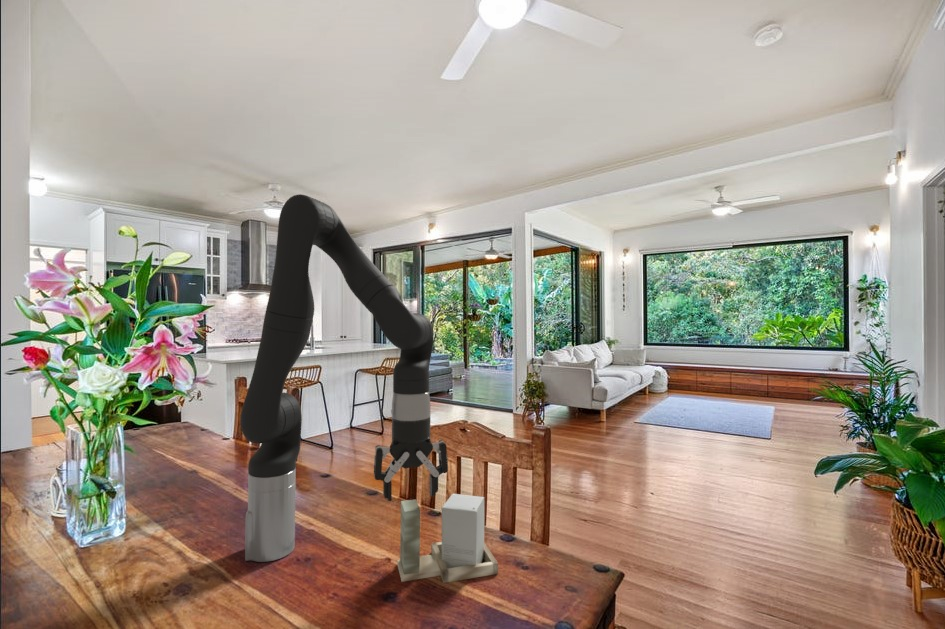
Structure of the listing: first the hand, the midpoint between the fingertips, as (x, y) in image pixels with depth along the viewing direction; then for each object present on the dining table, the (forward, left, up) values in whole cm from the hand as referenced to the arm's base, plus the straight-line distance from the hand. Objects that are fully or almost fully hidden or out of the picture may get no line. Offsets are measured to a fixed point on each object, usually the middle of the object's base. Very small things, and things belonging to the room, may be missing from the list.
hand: (411, 497), depth 87 cm
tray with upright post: (+7, 0, -15) cm, 16 cm away
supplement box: (+11, 0, -15) cm, 19 cm away
